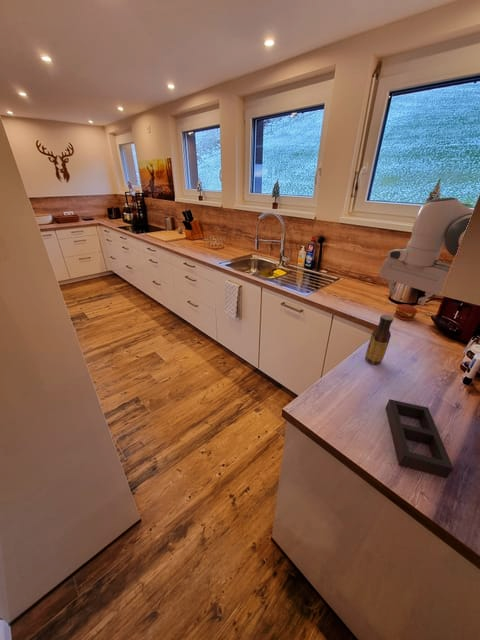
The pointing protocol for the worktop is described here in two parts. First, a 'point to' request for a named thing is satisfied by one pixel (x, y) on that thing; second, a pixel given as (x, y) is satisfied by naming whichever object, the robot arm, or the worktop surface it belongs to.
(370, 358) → the sauce bottle
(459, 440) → the worktop surface
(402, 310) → the hamburger
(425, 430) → the caddy
